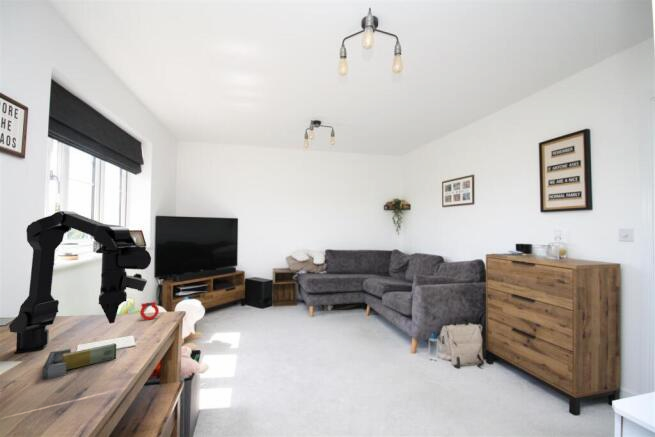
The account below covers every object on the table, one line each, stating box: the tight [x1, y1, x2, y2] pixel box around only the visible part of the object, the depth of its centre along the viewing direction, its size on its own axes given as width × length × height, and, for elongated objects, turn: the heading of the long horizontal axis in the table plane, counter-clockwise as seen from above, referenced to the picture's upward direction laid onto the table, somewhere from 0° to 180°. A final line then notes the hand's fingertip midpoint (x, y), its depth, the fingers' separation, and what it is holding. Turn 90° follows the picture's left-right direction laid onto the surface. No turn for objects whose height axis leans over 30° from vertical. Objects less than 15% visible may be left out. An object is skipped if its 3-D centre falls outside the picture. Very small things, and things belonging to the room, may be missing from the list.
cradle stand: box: [41, 348, 72, 381], centre depth 80 cm, size 4×11×3 cm, turn 36°
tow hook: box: [139, 301, 160, 321], centre depth 126 cm, size 7×10×7 cm
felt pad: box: [75, 335, 136, 352], centre depth 95 cm, size 15×10×1 cm, turn 126°
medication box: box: [61, 343, 117, 371], centre depth 83 cm, size 12×3×4 cm, turn 136°
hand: (111, 321), depth 87 cm, fingers open, 4 cm apart
